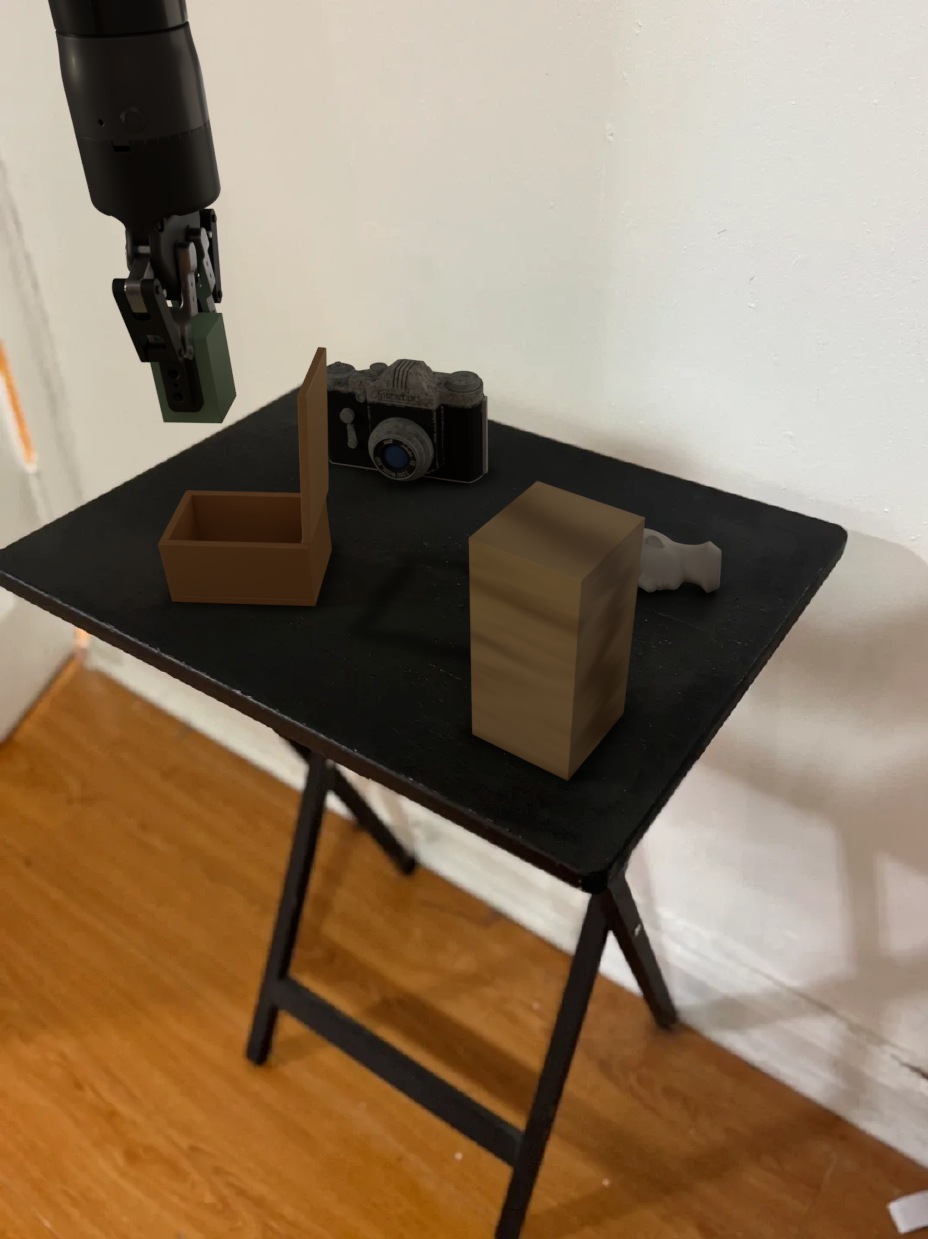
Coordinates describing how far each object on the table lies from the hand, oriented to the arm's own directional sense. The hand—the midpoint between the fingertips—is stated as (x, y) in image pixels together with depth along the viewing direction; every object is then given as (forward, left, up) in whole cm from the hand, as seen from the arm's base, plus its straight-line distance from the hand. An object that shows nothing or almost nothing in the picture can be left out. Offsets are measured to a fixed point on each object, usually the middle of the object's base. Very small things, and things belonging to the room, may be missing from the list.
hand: (196, 392), depth 69 cm
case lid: (+7, -3, -4) cm, 8 cm away
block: (0, 0, -1) cm, 1 cm away
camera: (+17, +9, -15) cm, 24 cm away
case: (+1, -1, -15) cm, 15 cm away
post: (+16, -24, -15) cm, 32 cm away
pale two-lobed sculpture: (+30, -14, -15) cm, 36 cm away
